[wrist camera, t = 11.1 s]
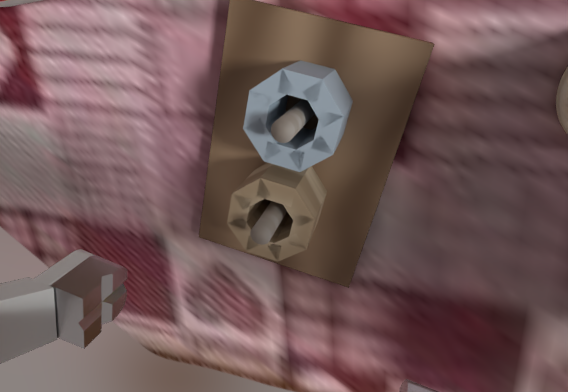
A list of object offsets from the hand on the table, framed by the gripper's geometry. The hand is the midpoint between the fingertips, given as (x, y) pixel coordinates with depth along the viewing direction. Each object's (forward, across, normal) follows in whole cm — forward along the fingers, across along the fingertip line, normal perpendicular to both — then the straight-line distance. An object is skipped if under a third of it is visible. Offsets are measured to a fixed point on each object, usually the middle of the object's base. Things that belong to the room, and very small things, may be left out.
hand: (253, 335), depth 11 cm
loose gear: (+21, +4, -1) cm, 21 cm away
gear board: (+22, +4, +3) cm, 23 cm away
